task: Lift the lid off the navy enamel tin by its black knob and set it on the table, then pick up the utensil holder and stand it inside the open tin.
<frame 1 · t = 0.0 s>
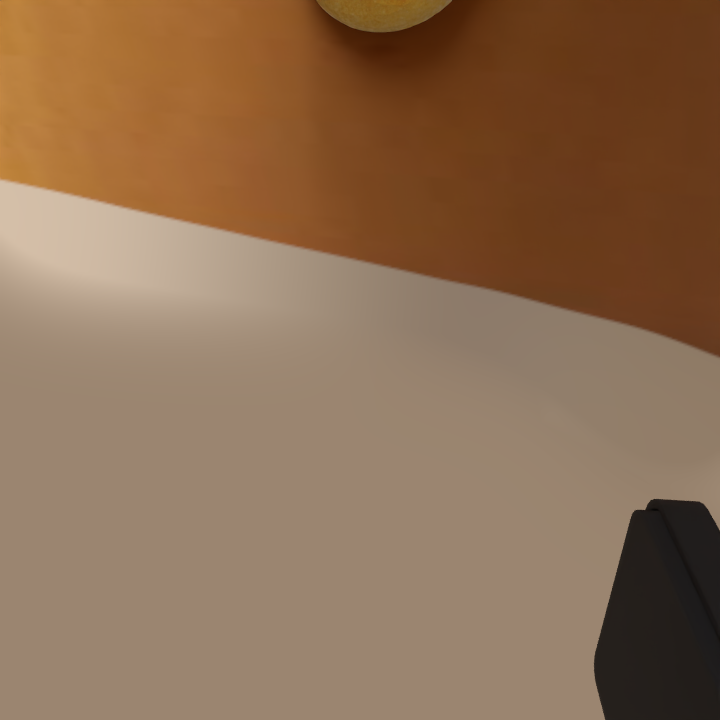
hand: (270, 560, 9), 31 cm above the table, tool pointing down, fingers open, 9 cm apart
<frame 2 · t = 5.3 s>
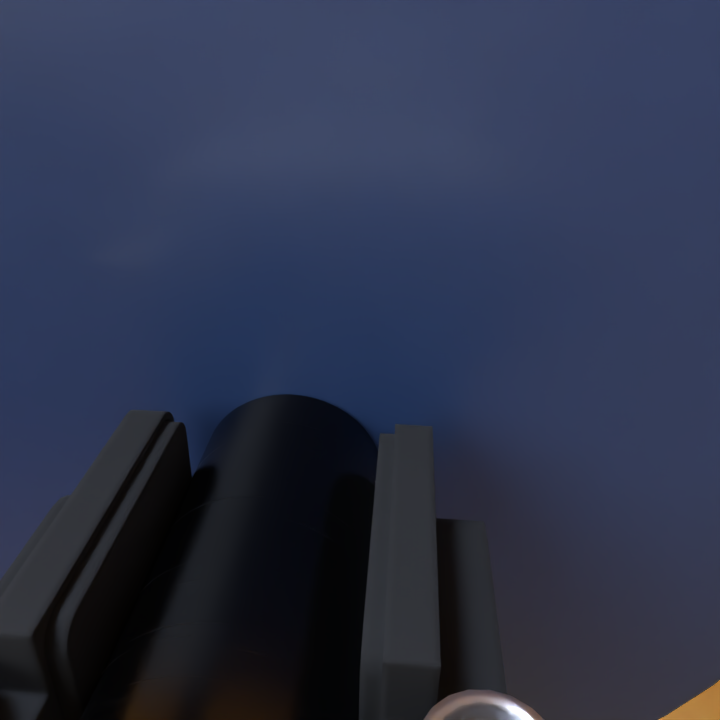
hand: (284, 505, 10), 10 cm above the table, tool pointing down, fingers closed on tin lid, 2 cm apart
tin lid: (300, 446, 11), point 8 cm above the table, touching gripper, tin
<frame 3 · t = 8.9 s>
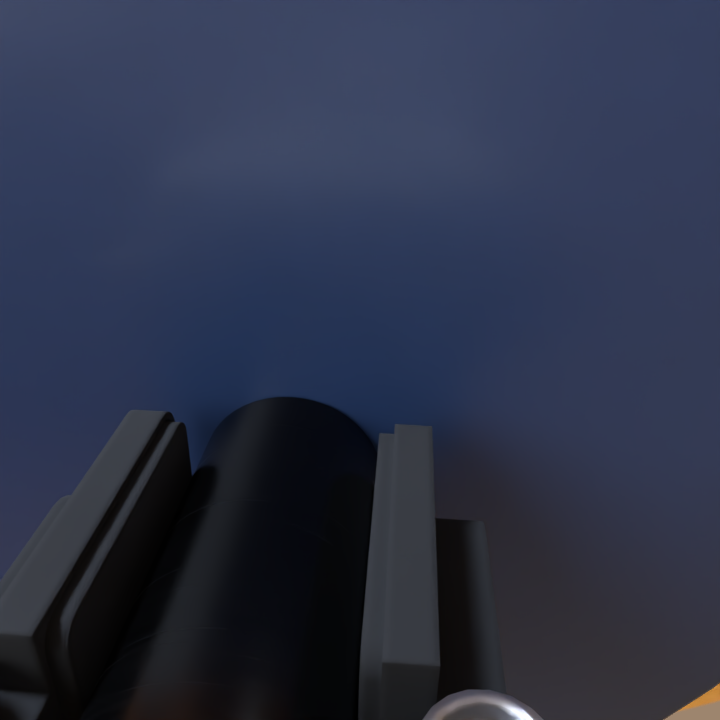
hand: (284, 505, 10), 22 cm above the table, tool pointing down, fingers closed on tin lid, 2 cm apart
tin lid: (299, 448, 11), point 20 cm above the table, touching gripper
when the fingers open (2 cm above the table, at t = 12.7 s): tin lid stays where it is, point 1 cm above the table.
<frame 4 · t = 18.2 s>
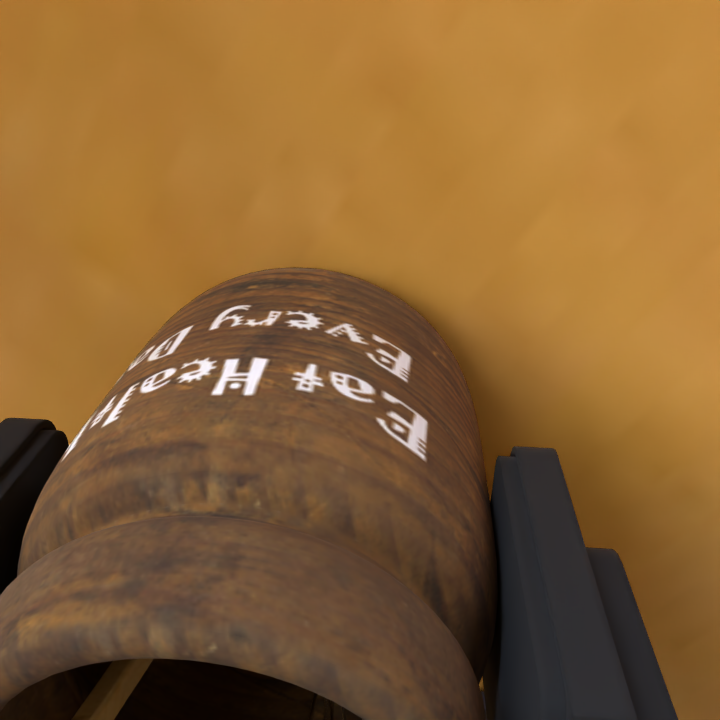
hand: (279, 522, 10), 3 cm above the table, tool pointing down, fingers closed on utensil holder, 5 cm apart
utensil holder: (303, 405, 13), on the table, touching gripper
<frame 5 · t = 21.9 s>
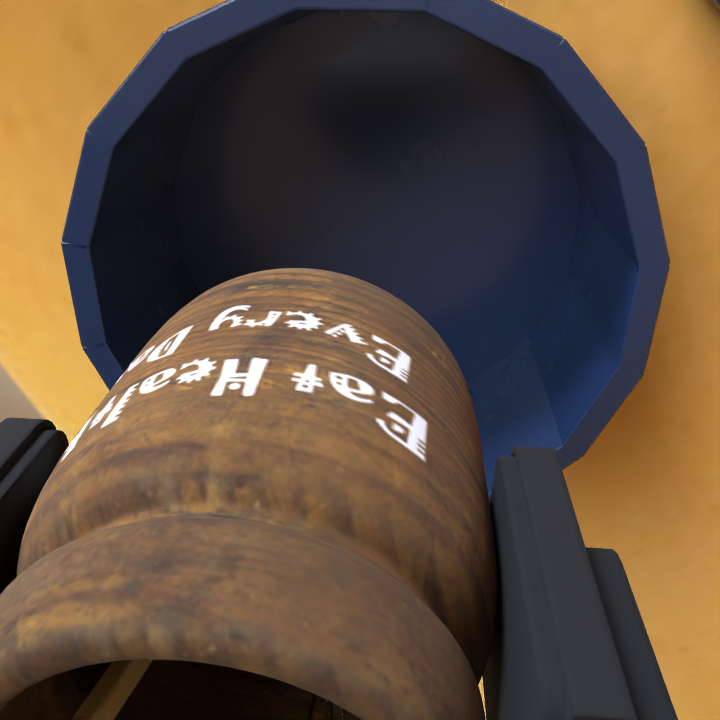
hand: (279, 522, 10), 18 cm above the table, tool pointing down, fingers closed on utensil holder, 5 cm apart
utensil holder: (302, 405, 13), point 15 cm above the table, touching gripper
tin: (373, 224, 26), on the table
when the fingers open (3 cm above the table, at t = 25.7 s): utensil holder stays where it is, resting on tin.
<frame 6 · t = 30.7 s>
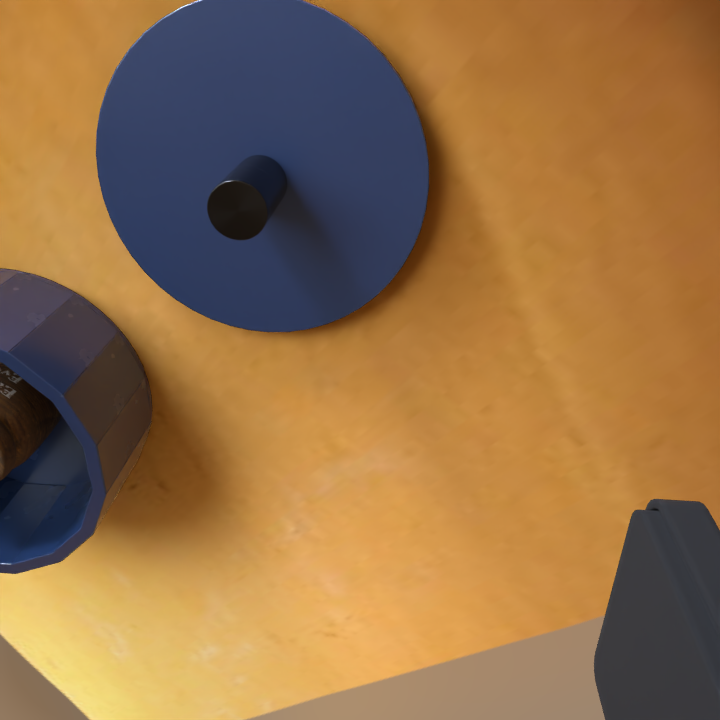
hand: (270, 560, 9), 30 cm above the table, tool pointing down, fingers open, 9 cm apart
utensil holder: (23, 389, 45), resting on tin
tin lid: (263, 179, 37), point 1 cm above the table
tin: (26, 387, 45), on the table
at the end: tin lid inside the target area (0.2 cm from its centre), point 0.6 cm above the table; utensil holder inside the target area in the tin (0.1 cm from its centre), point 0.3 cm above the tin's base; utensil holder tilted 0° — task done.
